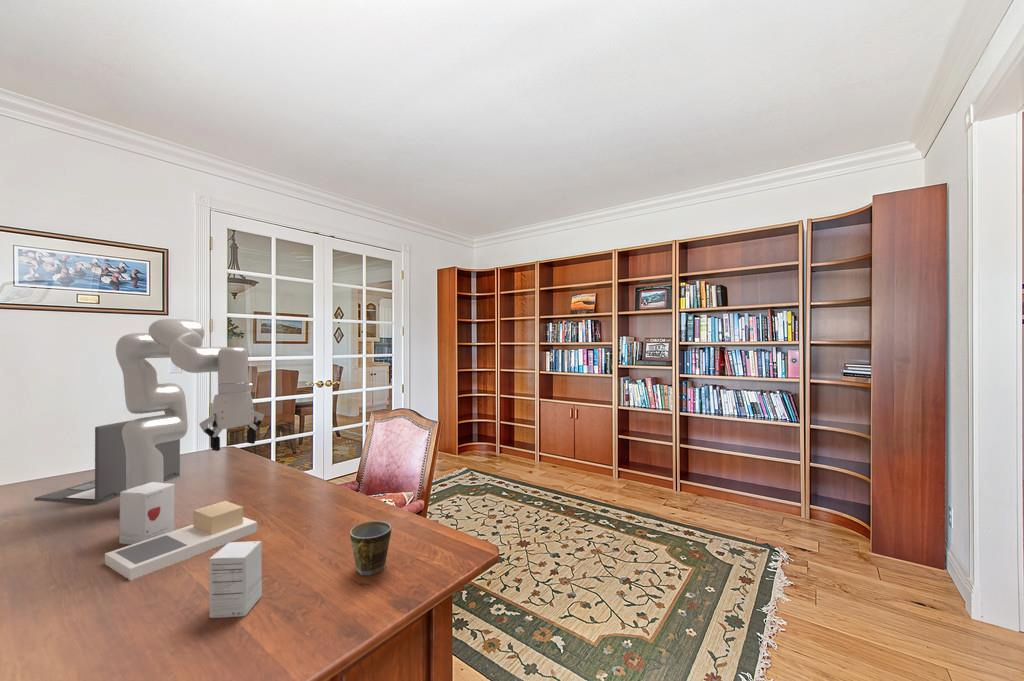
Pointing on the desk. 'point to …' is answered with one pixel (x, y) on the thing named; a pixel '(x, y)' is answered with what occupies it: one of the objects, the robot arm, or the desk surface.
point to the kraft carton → (218, 517)
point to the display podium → (171, 548)
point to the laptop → (113, 468)
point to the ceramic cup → (370, 546)
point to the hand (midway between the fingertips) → (234, 446)
